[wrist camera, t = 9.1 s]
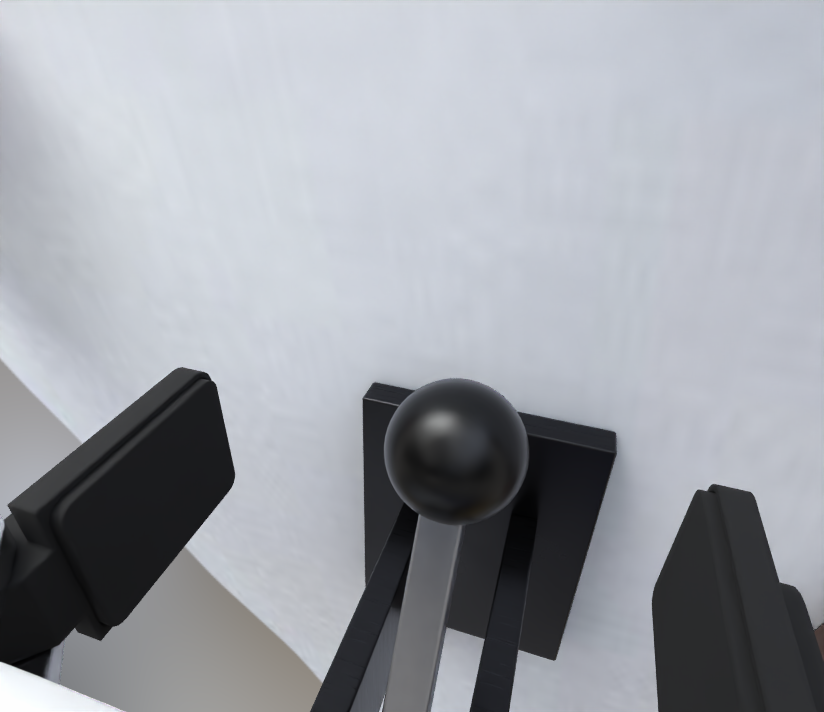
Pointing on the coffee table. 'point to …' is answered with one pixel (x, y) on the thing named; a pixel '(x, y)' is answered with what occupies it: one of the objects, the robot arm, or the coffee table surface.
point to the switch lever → (444, 510)
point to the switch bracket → (476, 561)
